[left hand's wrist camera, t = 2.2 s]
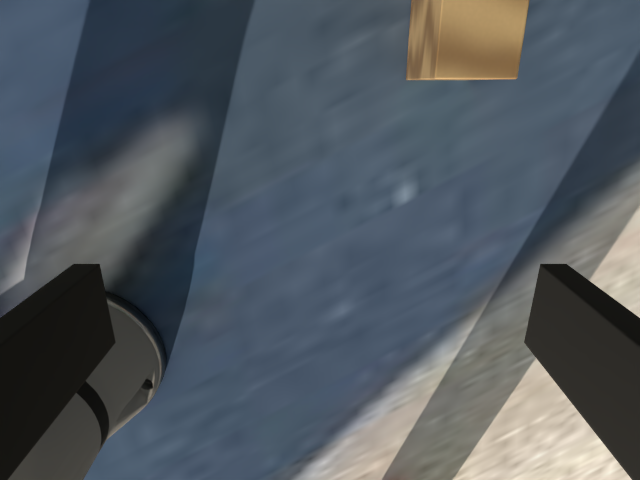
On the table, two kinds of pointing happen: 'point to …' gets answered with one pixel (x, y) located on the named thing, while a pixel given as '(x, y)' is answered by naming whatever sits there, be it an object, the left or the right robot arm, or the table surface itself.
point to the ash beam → (465, 39)
